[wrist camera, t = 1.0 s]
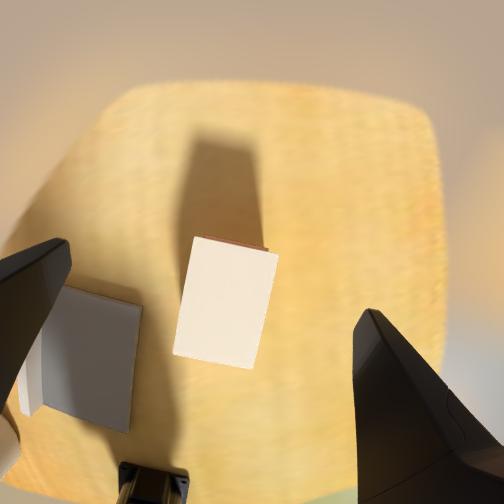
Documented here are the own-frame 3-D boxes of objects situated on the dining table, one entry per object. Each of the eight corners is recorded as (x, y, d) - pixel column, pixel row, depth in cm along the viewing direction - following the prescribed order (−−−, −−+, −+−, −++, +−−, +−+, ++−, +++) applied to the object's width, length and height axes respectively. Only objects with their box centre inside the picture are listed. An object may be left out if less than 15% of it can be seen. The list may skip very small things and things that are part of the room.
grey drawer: (129, 427, 22) (119, 450, 19) (36, 394, 21) (17, 411, 18) (142, 306, 22) (129, 317, 19) (38, 277, 21) (14, 282, 18)
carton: (244, 337, 23) (252, 369, 17) (184, 325, 22) (172, 353, 16) (264, 247, 23) (279, 250, 17) (202, 234, 22) (195, 232, 16)
